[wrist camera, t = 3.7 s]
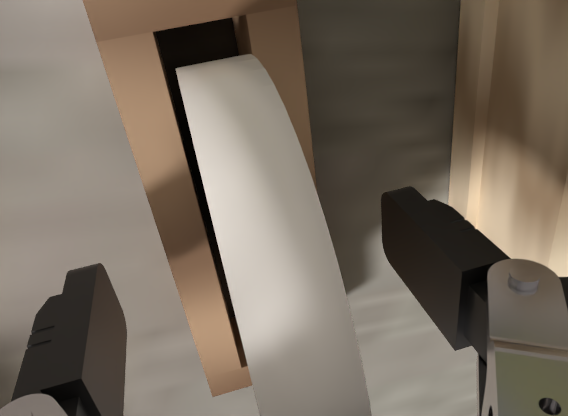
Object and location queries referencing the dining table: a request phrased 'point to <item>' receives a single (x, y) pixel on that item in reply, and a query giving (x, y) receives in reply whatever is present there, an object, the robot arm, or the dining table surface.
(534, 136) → the rack
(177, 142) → the stand
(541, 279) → the robot arm
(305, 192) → the plate
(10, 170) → the dining table surface
